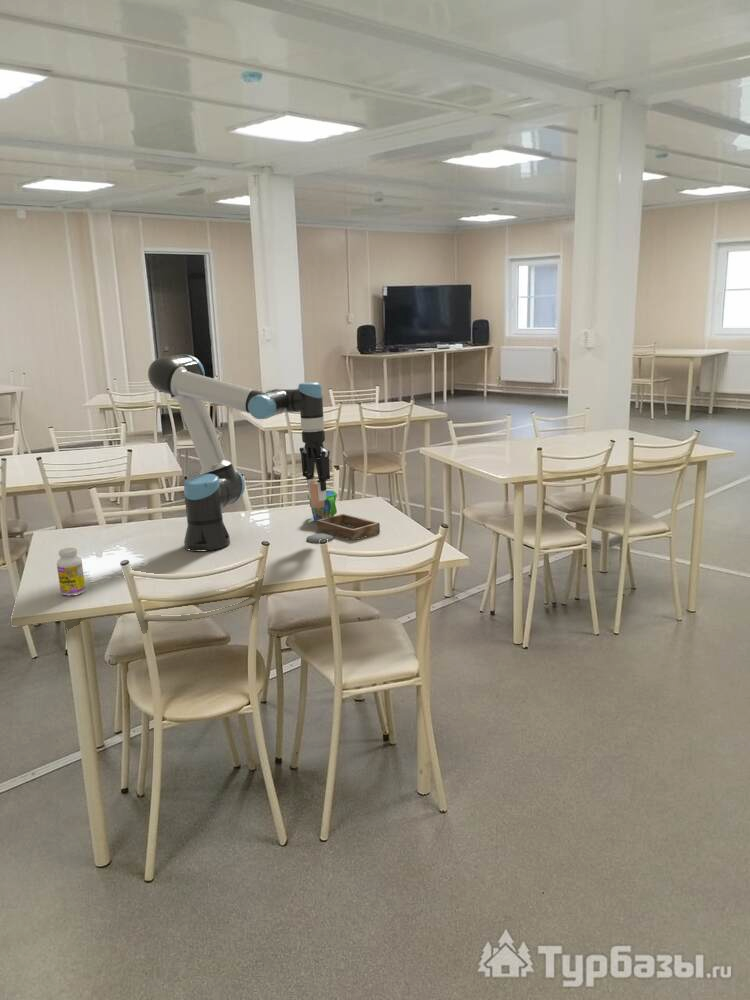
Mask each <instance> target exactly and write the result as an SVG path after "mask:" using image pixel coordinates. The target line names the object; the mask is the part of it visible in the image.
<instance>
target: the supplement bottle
mask: <svg viewBox="0 0 750 1000" xmlns="http://www.w3.org/2000/svg"><path fill="white" fill-rule="evenodd" d="M77 554H78V551H77V548H75V547H65V548H62V549H59V550H58V556H59V559H58V560H57V562H56V568H57V569H56V570H57V574H58V576H57V577H58V583H59V589H60V590H59V591H60V594H61V595H62V594H63V595H74V594H79V593H82V592H83V593H84V592H85V591H86V583H85V582H86V581H85V575H84V569H83V568H84V567H83V561H82V558H81V557H80V556H78V555H77ZM83 593H82V594H83ZM63 595H62V596H63Z"/></svg>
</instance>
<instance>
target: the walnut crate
mask: <svg viewBox="0 0 750 1000" xmlns="http://www.w3.org/2000/svg"><path fill="white" fill-rule="evenodd" d="M345 524H346V526H349V525H350V526H349V527H346V526H342V525H345ZM352 526H354V527H353V528H350V527H352ZM356 527H357V528H356ZM380 529H381V526H380V522H377V521H373V520H369V519H366V518H363V517H362V518H361V517H359V516H358V517H357V516H353V515H350V514H346V513H340V514H335V515H334V516H332V517H328V518H324V519H320V520H317V521H316V530H317V531H319V532H322V533H323V532H324V533H325V534H330V535H332V536H337V537H340V538H343V537H344V539H347V538H348V539H347V540H350V539H352V540H351V541H356V540H355V539H357V540H359V539H358V538H360V539H363V538H362V537H364V538H366V537H365V536H367V537H369V536H368V535H370V536H373V535H372V534H374V535H376V534H375V533H377V534H379V532H380V533H381V530H380Z"/></svg>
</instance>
